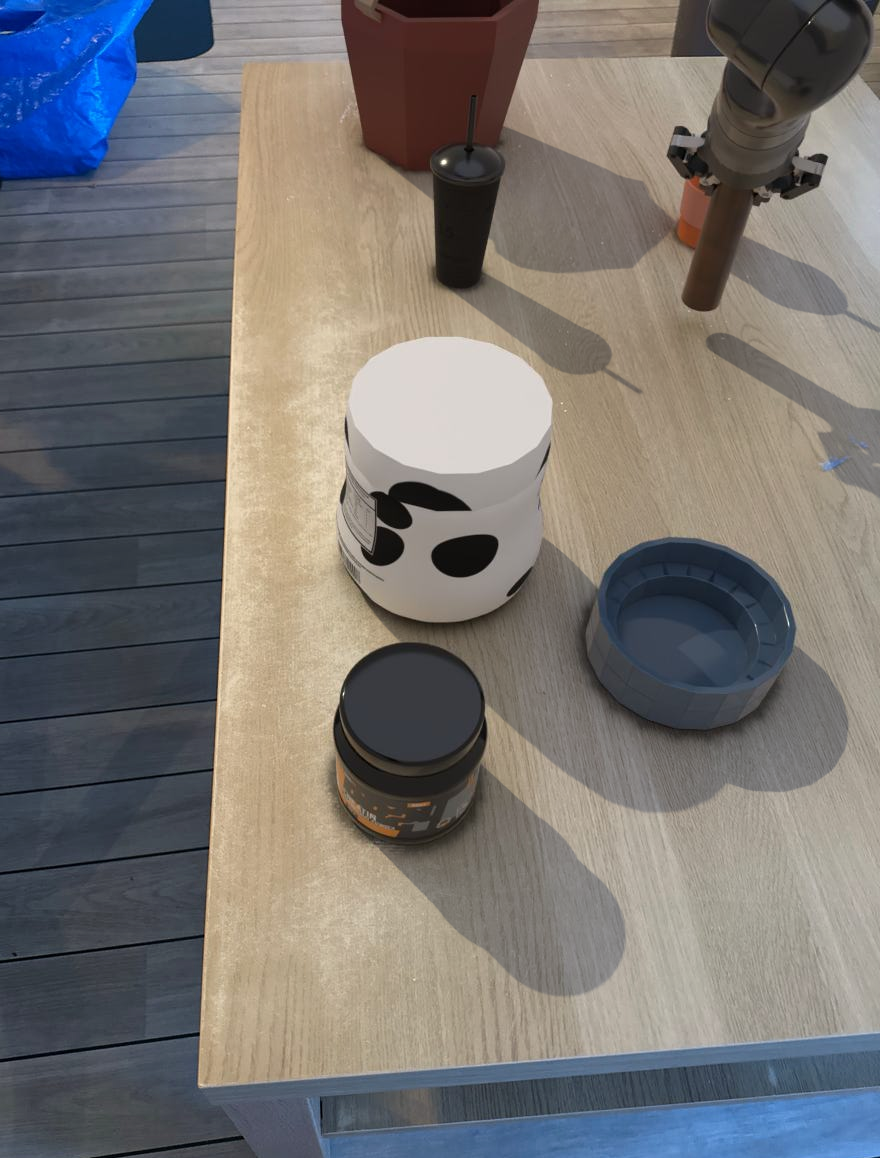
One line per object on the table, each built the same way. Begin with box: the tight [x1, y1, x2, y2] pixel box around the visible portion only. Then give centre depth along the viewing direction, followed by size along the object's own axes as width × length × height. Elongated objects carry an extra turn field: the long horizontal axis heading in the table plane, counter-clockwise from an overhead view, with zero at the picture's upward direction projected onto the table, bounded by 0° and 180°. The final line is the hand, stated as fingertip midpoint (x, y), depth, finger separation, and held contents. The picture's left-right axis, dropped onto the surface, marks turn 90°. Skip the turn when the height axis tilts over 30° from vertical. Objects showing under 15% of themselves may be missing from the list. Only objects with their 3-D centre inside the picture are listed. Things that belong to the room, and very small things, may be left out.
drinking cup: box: [430, 94, 507, 290], centre depth 103 cm, size 8×8×20 cm
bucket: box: [340, 0, 540, 172], centre depth 117 cm, size 24×22×25 cm
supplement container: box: [332, 641, 489, 845], centre depth 69 cm, size 10×10×12 cm
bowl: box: [584, 536, 797, 731], centre depth 79 cm, size 15×15×6 cm
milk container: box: [335, 336, 554, 624], centre depth 80 cm, size 17×17×18 cm
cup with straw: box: [677, 127, 711, 249], centre depth 109 cm, size 9×9×18 cm
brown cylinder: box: [680, 182, 757, 312], centre depth 98 cm, size 4×4×15 cm
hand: (734, 190), depth 96 cm, fingers closed on brown cylinder, 4 cm apart
